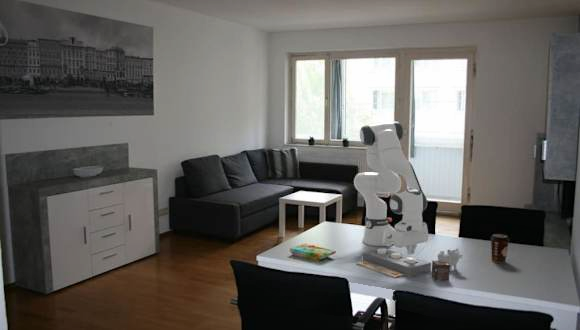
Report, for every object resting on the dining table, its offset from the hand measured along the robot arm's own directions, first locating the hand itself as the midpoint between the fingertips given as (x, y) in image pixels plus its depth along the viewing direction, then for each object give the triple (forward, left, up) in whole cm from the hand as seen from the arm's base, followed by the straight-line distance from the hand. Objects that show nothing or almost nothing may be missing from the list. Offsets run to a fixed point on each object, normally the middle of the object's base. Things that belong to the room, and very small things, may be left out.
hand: (410, 253), depth 236 cm
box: (-2, +15, -8) cm, 17 cm away
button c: (0, 0, -5) cm, 5 cm away
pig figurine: (-17, +9, -8) cm, 21 cm away
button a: (0, -18, -5) cm, 19 cm away
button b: (0, -9, -5) cm, 10 cm away
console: (0, -9, -8) cm, 12 cm away
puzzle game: (+23, -43, -8) cm, 49 cm away
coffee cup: (-47, +16, -8) cm, 50 cm away
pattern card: (+11, -9, -8) cm, 16 cm away
